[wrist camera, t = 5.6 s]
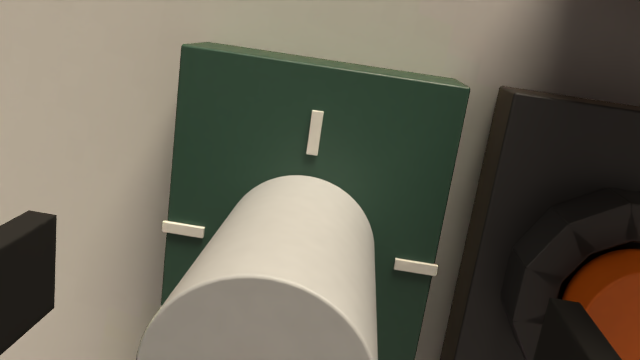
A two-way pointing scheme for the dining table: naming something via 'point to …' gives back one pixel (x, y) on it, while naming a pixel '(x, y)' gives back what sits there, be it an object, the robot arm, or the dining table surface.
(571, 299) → the power button
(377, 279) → the dial console
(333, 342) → the knob
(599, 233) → the switch block
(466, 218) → the dining table surface
